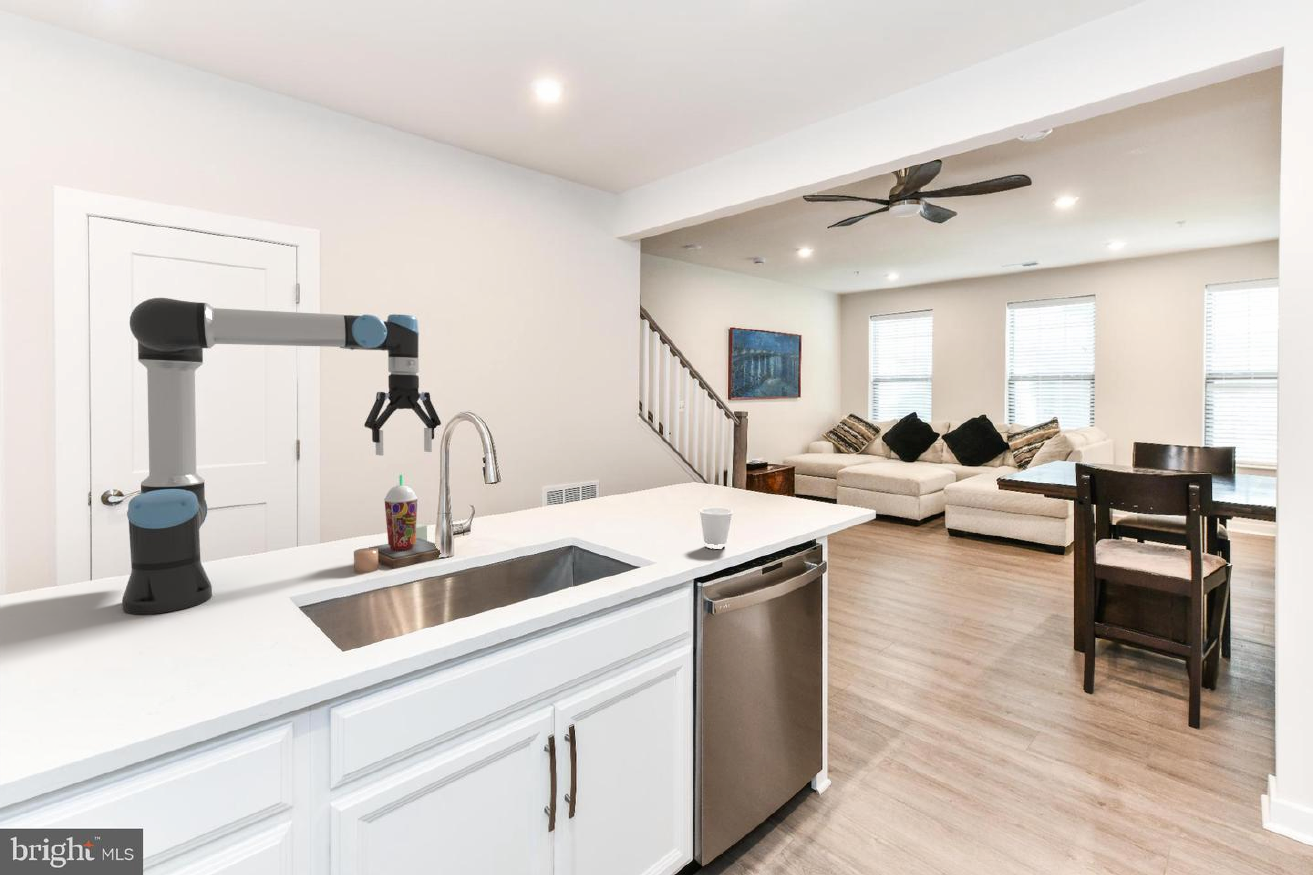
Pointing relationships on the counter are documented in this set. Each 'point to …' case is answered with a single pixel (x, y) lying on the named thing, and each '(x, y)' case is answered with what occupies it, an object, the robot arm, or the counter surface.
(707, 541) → the cup
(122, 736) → the counter surface
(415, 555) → the podium
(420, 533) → the sage box
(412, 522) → the smoothie
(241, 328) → the robot arm
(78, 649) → the counter surface
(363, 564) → the rounded peach cube
